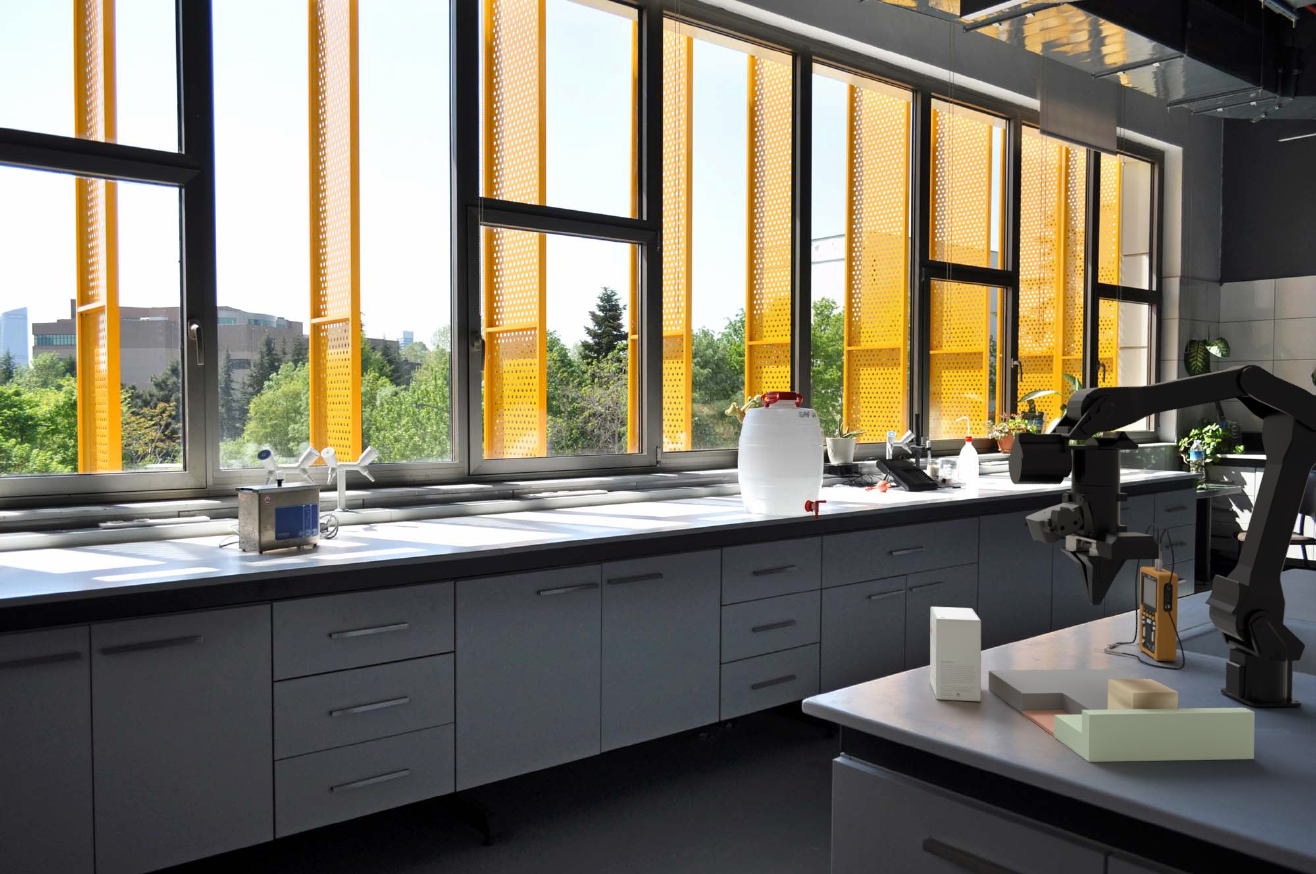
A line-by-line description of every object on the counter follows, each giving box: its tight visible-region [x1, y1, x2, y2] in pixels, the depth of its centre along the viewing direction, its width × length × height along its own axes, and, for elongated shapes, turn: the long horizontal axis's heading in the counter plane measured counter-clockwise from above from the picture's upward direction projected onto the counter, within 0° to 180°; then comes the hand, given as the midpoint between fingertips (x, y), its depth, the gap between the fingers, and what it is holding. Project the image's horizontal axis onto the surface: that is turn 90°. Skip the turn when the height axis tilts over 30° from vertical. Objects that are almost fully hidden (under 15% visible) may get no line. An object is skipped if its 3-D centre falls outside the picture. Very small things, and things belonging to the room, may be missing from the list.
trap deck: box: [988, 668, 1256, 763], centre depth 110 cm, size 18×26×5 cm
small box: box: [929, 606, 982, 702], centre depth 121 cm, size 8×6×10 cm
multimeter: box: [1091, 523, 1186, 671], centre depth 139 cm, size 15×10×20 cm
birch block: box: [1108, 678, 1179, 710], centre depth 102 cm, size 5×5×4 cm
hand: (1094, 604), depth 119 cm, fingers closed
